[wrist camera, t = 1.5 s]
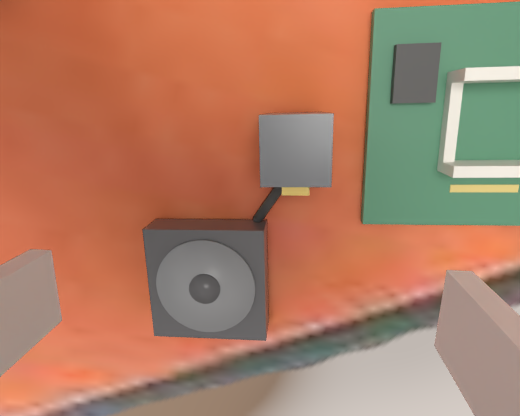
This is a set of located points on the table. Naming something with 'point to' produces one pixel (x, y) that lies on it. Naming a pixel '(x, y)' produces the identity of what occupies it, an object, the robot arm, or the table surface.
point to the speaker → (208, 278)
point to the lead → (267, 204)
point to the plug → (296, 151)
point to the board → (443, 116)
